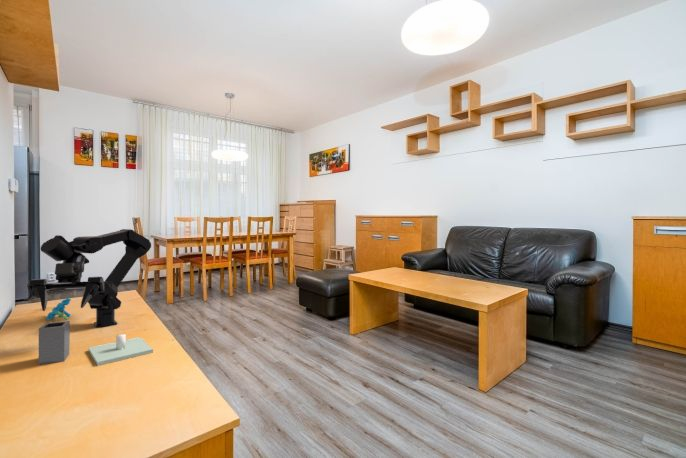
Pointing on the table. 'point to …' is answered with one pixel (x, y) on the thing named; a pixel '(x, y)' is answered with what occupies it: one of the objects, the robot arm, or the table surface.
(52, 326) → the square open box
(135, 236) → the robot arm
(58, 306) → the blue toy figurine
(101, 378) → the table surface
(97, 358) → the pin board
